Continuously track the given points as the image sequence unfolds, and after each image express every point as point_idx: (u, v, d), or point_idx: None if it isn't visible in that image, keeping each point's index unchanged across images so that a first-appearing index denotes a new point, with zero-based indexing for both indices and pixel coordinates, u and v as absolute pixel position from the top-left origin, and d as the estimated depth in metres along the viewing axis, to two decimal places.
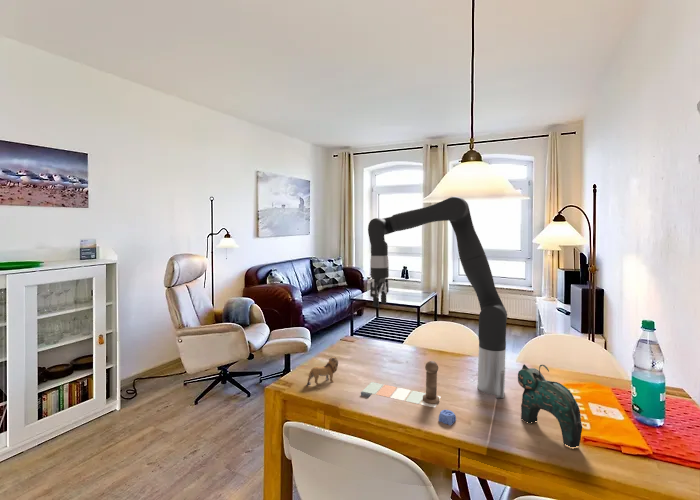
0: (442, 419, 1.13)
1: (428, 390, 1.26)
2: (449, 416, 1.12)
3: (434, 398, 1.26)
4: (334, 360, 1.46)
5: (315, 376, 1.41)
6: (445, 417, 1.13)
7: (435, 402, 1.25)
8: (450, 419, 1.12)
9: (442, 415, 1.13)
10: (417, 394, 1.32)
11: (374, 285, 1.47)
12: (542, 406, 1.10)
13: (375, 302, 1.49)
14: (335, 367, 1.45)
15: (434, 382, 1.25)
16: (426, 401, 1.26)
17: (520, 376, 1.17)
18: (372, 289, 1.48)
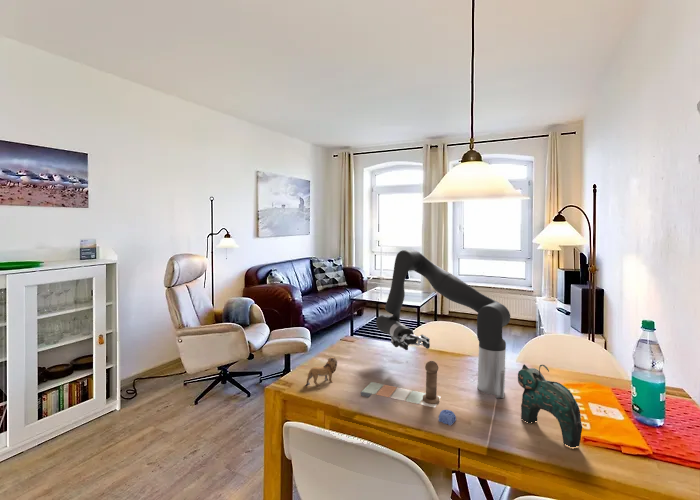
0: (442, 419, 1.13)
1: (428, 390, 1.26)
2: (449, 416, 1.12)
3: (434, 398, 1.26)
4: (333, 360, 1.46)
5: (314, 376, 1.41)
6: (445, 417, 1.13)
7: (435, 402, 1.25)
8: (450, 419, 1.12)
9: (442, 415, 1.13)
10: (417, 394, 1.32)
11: (391, 338, 1.45)
12: (542, 406, 1.10)
13: (402, 345, 1.38)
14: (334, 367, 1.45)
15: (434, 382, 1.25)
16: (426, 401, 1.26)
17: (520, 376, 1.17)
18: (393, 342, 1.43)
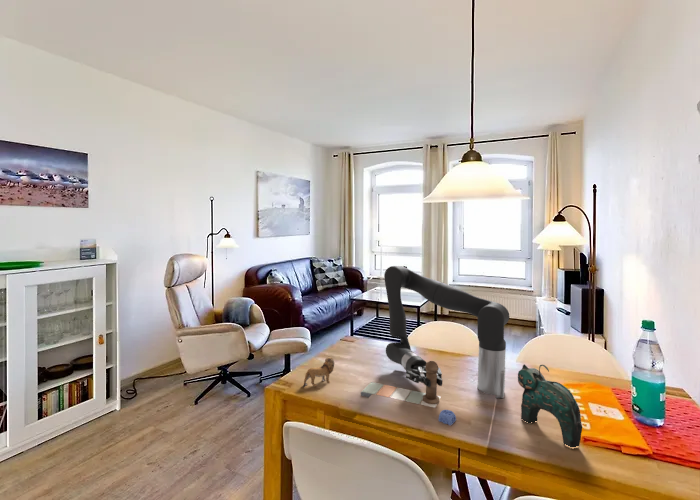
0: (442, 419, 1.13)
1: (428, 390, 1.26)
2: (449, 416, 1.12)
3: (434, 398, 1.26)
4: (330, 361, 1.45)
5: (311, 377, 1.41)
6: (445, 417, 1.13)
7: (435, 402, 1.25)
8: (450, 419, 1.12)
9: (442, 415, 1.13)
10: (417, 394, 1.32)
11: (407, 373, 1.31)
12: (542, 406, 1.10)
13: (424, 381, 1.26)
14: (331, 368, 1.45)
15: (434, 382, 1.25)
16: (426, 401, 1.26)
17: (520, 376, 1.17)
18: (411, 377, 1.30)
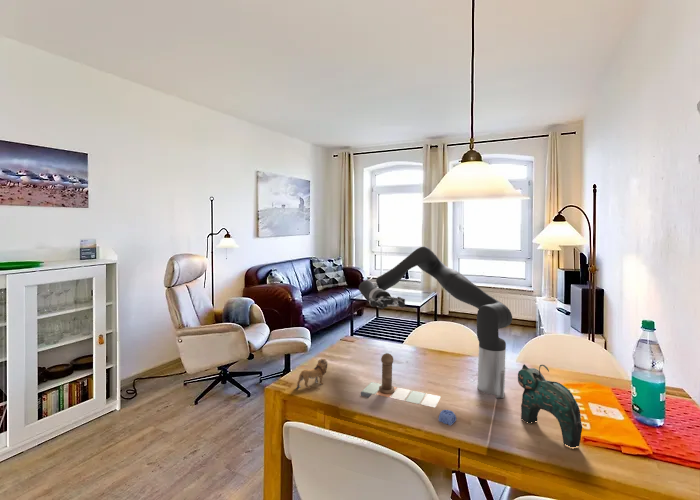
0: (442, 419, 1.13)
1: (383, 381, 1.33)
2: (449, 416, 1.12)
3: (389, 388, 1.33)
4: (323, 362, 1.44)
5: (305, 379, 1.39)
6: (445, 417, 1.13)
7: (390, 392, 1.32)
8: (450, 419, 1.12)
9: (442, 415, 1.13)
10: (417, 394, 1.32)
11: (369, 300, 1.53)
12: (542, 406, 1.10)
13: (378, 304, 1.47)
14: (325, 369, 1.43)
15: (389, 373, 1.33)
16: (381, 391, 1.33)
17: (520, 376, 1.17)
18: (370, 303, 1.52)
